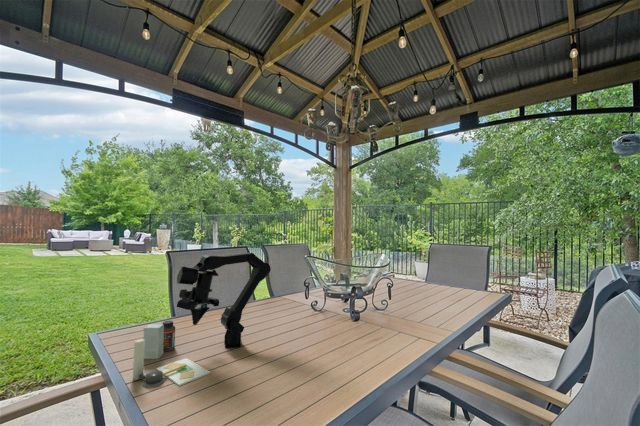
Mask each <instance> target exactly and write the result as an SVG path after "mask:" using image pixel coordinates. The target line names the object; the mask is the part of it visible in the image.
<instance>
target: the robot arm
mask: <svg viewBox="0 0 640 426" xmlns="http://www.w3.org/2000/svg"><path fill="white" fill-rule="evenodd" d="M241 263H248V264H249V266H250V267H251V268H252V269H251V272H250V277H249V279H248V281H247V282H246V284H245V285H244V287H243V288H242V290H241V291H240V293H239V295H238V297H237V298H236V300H235V301H234V303H233V305H232V306H230V307H225V309H224V311H223V313H222V314H221V316H220V317H221V318H220V323H221V325H222V326H223V327H224V328H225V330H226V331H225V333H224V342H223V343H224V344H223V345H224V348H226V349H229V348H241V346H242V342H243V341H242V333H243V332H244V330H245V326H244V325H243V324H241V320H242V315H243V310H244V309H245V307H246V305H247V304H248V302H249V300H250V299H251V297H252V296H253V294H254V292H256V291H255V290H256V289H257V287H258V285H259V284H260V283H261V282H262V281H264V280H265V279H266V278H267V277H268V275H270V272H271V271H272V268H271V265H270V264H269V263H267V262H265V261H263V260H262V259H261V258H259V257H258V256H257V255H256V254H255V253H253V252H248V251H247V252H245V253H237V254H236V253H235V254H228V255H227V254H226V255H214V254H213V255H212V254H204V255H203V256H202V257H201V258H200V260H199V261H198V262H197V263H196V264H195V265H194V266H193V267H187V266H181V267H180V269H179V270H178V273H177V276H176V283H177V284H179V285H189V286H192V289H191V290H187V289H186V288H185V289H183V288H182V289H180V291H179V295H178V296H179V298H180V299H179V300H178V301H177V303H176V308H179V309H183V310H188V311H190V312H191V313H190V314H191V318H192V325H193V326H196V325H197V324H199V322H200V320H201V319H202V318H203V316H205V314H206V313H207V312H208V310H210V307H208V305H212V306H213V307H219V306H220V299H219V298H215V297H211V296H210V292H211V293H212V291H213V289H212V288H211V287H212V282H213V277H219V274H218V272H217V270H216V269H218V268H221V267H224V266H226V265H235V264H241ZM194 284H195V286H193V285H194Z"/></svg>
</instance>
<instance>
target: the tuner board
mask: <svg viewBox="0 0 640 426" xmlns="http://www.w3.org/2000/svg"><path fill="white" fill-rule="evenodd" d="M184 363H185V364H187V366H186V367H185V368H182V369H179V370H176V371H174V372H171V373H169V374H166V375H164V376H163V379H162V380H161V381H160V382H157V383H154V384H147V383H146V382H145V379H143V381H142V383H141V386H142V387H144V388H153V387H158V386H160V385H162V384H164V383H165V381H167V380H166V378H167V379H169V380H170V381H171V382H173V383H174V384H175V385H177V386H178V387H180V386H183V385H185V384H188V383H190V382H193V381H195V380H198V379H200V378H203V377H205V376H207V375H210V374H211V371H209V370H208V369H206V368H204V367H203V366H201V365H199V364H197V363H196V362H194V361H193V360H190V359H189V358H187V357H185V358H181V359H179V360H175V361H173V362H170V363H168V364H165V365H161V366H159V367H156V369H155V371H162V372H165V371H168V370H170V369H173V368H176V367H178V366H180V365H182V364H184Z"/></svg>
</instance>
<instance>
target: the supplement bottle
mask: <svg viewBox="0 0 640 426" xmlns="http://www.w3.org/2000/svg"><path fill="white" fill-rule="evenodd" d="M162 324H164V342H163V352H169V351H172V350H174V349H175V346H176V344H175V342H176V326H175V325H174V321H173V320H170V319H169V320H165V321H164V320H163V321H162Z"/></svg>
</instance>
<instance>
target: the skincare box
mask: <svg viewBox="0 0 640 426" xmlns="http://www.w3.org/2000/svg"><path fill="white" fill-rule="evenodd" d="M142 339H143V340H145V342H144V360H155V359H156V360H158V359H160V358H161V357H162V356H163V355H164V351H163V342H164V324H163V323H162V324H148V325H147V326H145V327H143V338H142Z"/></svg>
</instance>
